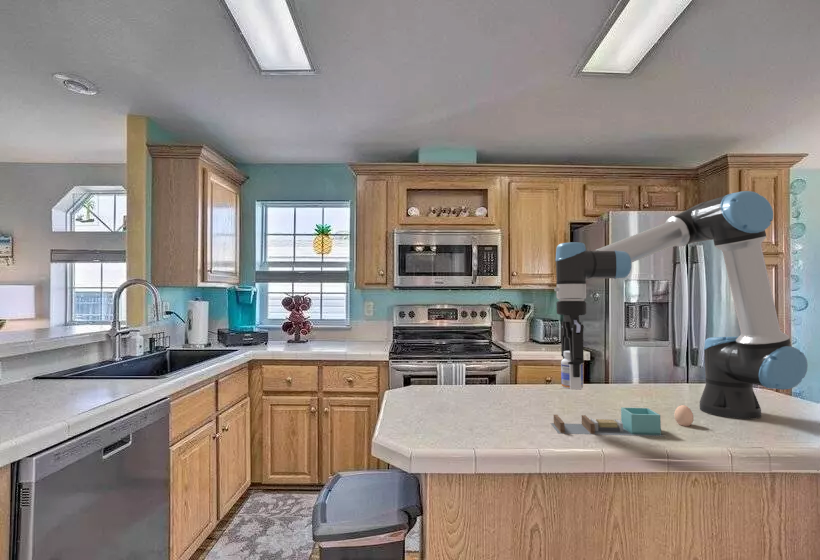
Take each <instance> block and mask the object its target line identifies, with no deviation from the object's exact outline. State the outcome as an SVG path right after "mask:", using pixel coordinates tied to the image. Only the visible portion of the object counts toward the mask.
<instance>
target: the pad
mask: <svg viewBox="0 0 820 560" xmlns="http://www.w3.org/2000/svg"><path fill="white" fill-rule="evenodd" d="M595 420H596V421H597V422H598V426H599V427H615V428H617V422H616V421H615V419H605V418H602V419H599V418H598V419H597V418H596V419H595Z"/></svg>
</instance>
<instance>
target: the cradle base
mask: <svg viewBox="0 0 820 560" xmlns="http://www.w3.org/2000/svg"><path fill="white" fill-rule="evenodd" d="M590 420H591V421H592V422H593V423H594V424H595V431H607V432H623V423H622V422H621V420H619V419H614V421H616V422H617V428H615V427H599V426H598V422H597V421H596V419H595V418H590Z"/></svg>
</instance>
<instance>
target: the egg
mask: <svg viewBox="0 0 820 560" xmlns="http://www.w3.org/2000/svg"><path fill="white" fill-rule="evenodd" d="M673 416H674V421H676V423H677V424H678V425H679V426H684V427H689V426H691V425H692V424H693V422H694V414H693V411H692V410H691V408H689V406H687V405H684V404H682V405H678V406H677V407H676V409H675V410H674V414H673Z"/></svg>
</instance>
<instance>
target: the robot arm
mask: <svg viewBox="0 0 820 560" xmlns="http://www.w3.org/2000/svg"><path fill="white" fill-rule="evenodd" d="M773 219H774V209H773V207H772V205H771V203H770V201H769V200H768V199H767V198H766V197H765V196H764V195H761V194H760V193H758V192H755V191H751V190H744V191H742V190H741V191H737V192H732V193H728V194H726V195H722V196H720V197H716V198H714V199H713V198H712V199H710V200H706V201H703V202H700V203H698V204H696V205H694V206H691V207H690V208H688V209H686V210H684V211H682V212H680V213H678V214H675V215H673V216H671V217H669V218H667V219H666V221H665V223H662V224H661V223H660V224H659V225H657V226H654V227H651V228H649V229H645V230H644V231H641V232H638V233H636V234H633V235H631V236H627V237H625V238H623V239H620V240H617V241H615V242H612V243H610V244H607V245H605V246H602V247H600V248H597V249H594V250H588V249H587V248H586V244H585V243H584V242H580V241H579V242H575V241H574V242H573V241H572V242H571V241H569V242H561V243H559V244H558V245H557V246H556V248H555V249H556V250H555V275H556V277H555V278H556V280H555V282H556V283H555V284H556V287H554V292H556V299H558V300H557V301H556V314H557V315H562V316H563V321H560V329H561V333H560V334H561V335H560V336H561V353H560V354H561V358H562V359H564V358H565V357H564V355H563V354H564V351H570V359H571V362H568V364H569V366H570V389H569V390H572V391H573V390H574V391H578V390H579V391H582V389H581V364H584V363H585V360H584V359H585V358H584V328H585V327H584V326H585V325H584V324H582V323H581V322H580V316H585V315H586V314H587V302H586V298H587V281H591V280H603V279H614V280H617V279H624V278H627V277H628V276H629V274H630V273H631V271H632V263H634V262H637V261H640V260H642V259H644V258H647V257H649V256H652V255H654V254H655V255H656V254H657V253H659V252H663V251H665V250H668V249H669V248H673V247H675V246H676V247H685V246H687V245H690V244H694V243H698V242H705V241H706V242H707V241H710V240H711V241H713V245H714V247H715V248H716V249H719V251H722V255H723V259H724V263H725V268H726V273H727V277H728V281H729V285H730V291H731V296H732V299H733V304H734V308H735V311H736V313H735V314H736V316H737V317H736V318H737V323H738V326H739V329H740V330H739V331H740V335H739V336H713V337H707V338H706V339H705V340H704V346H703V347H704V348H703V353H704V372H705V374H704V375H705V377H704V378H705V386H704V388H703V391H702V394H701V397H700V400H699V410H700V411H701V412H704V413H707V414H711V415H713V416H719V417H725V418H733V419H742V420H743V419H744V420H748V419H749V420H751V419H754V420H755V419H759V418H762V407H761V406H760V404H759V401H758V399H757V396H756V394H755V392H754V388H753V386H754V385H757V386H761V387H765V388H767V389H774V390H775V389H776V390H783V391H784V390H789V389H793V388H795V387H797V386H798V385H799V384H801V382H802V381H803V379H805V377H806V375H807V372H808V360H807V356H806V355H805V354H804V353H803V352H802V351H801V350H800V349H799V348H797V347H794V346H792V343H791V342H792V341H791V338H790V336H789V334H787V333H785V332H783V331H782V330H781V328H780V323H779V319H778V313H777V309H776V305H775V300H774V297H773V291H772V289H771V288H772V286H771V283H770V279H769V275H768V270H767V266H766V262H765V256H764V252H763V249H762V243H763V242H764V240H766V238H767V233H766V229H768V228H769V227H770V226H771V224H772V223H771V222H772V221H773Z"/></svg>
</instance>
